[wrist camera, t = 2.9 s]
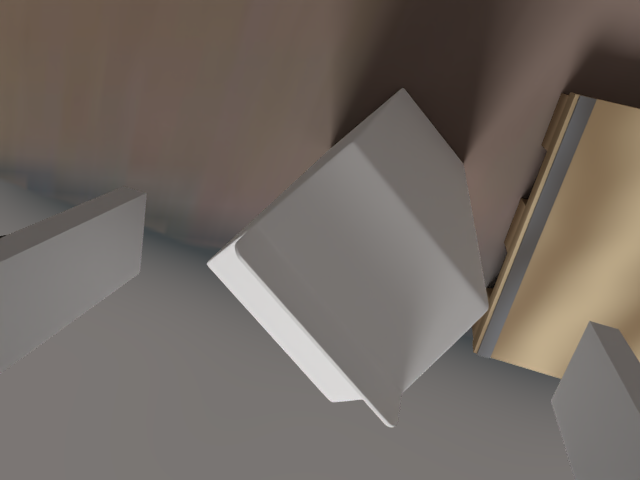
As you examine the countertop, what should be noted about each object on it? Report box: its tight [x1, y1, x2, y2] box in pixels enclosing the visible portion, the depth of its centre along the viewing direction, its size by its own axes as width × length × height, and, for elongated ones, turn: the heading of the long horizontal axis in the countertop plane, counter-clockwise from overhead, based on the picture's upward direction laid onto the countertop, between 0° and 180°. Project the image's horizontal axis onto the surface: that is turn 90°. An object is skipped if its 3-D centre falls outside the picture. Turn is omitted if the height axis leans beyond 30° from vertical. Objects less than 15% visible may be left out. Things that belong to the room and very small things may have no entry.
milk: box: [207, 88, 489, 427], centre depth 22 cm, size 6×6×22 cm
